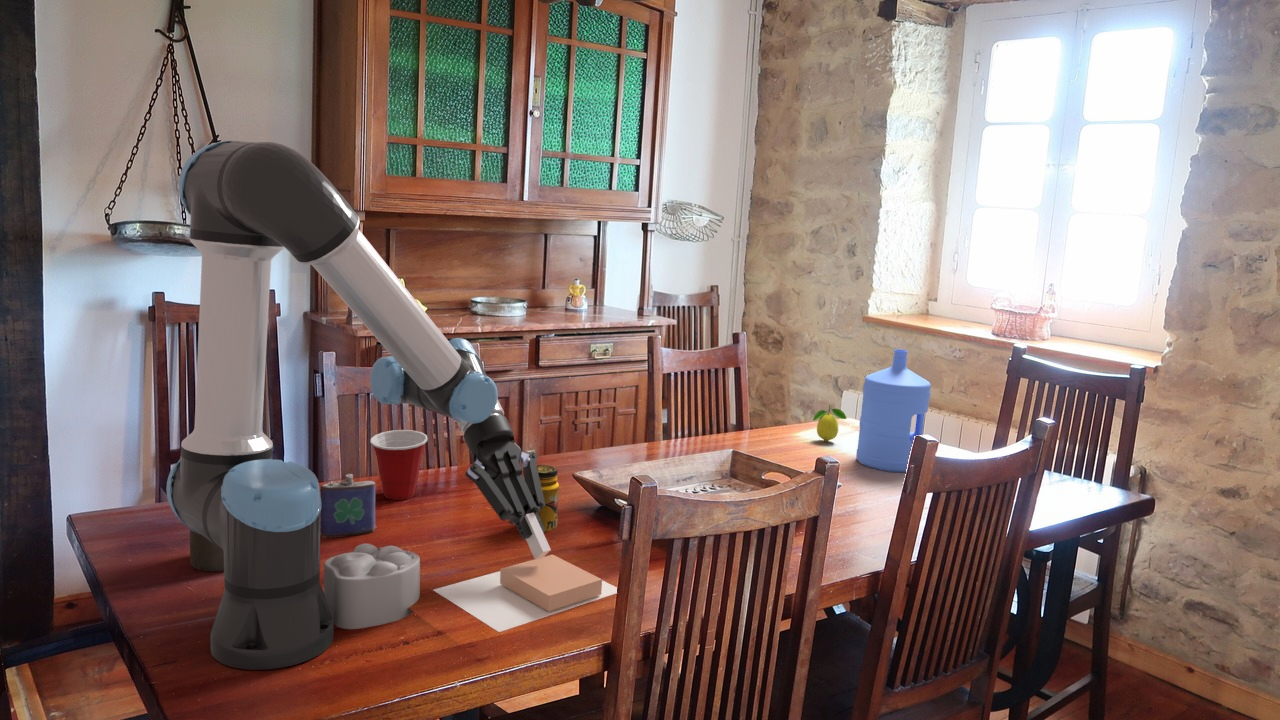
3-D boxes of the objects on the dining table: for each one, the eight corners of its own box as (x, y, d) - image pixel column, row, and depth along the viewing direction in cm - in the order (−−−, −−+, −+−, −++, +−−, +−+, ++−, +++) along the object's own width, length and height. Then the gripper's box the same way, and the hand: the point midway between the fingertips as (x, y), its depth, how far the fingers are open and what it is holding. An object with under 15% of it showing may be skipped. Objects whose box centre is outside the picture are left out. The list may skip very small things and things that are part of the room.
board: (498, 640, 129) (499, 632, 129) (432, 597, 141) (432, 589, 141) (622, 598, 145) (623, 590, 145) (553, 562, 157) (554, 556, 157)
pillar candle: (187, 574, 144) (186, 480, 141) (191, 550, 153) (190, 461, 150) (256, 569, 148) (257, 477, 145) (256, 546, 156) (256, 459, 154)
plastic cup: (358, 499, 182) (358, 439, 180) (389, 484, 192) (390, 427, 190) (407, 508, 179) (408, 447, 177) (437, 492, 189) (438, 434, 187)
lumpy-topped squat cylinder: (318, 604, 137) (318, 547, 135) (404, 587, 144) (405, 533, 143) (341, 633, 129) (342, 573, 127) (431, 613, 136) (433, 556, 135)
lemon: (844, 444, 247) (847, 406, 245) (827, 446, 243) (831, 408, 242) (826, 437, 252) (829, 401, 250) (809, 439, 249) (813, 402, 247)
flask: (373, 527, 168) (374, 469, 166) (376, 533, 165) (377, 474, 163) (319, 533, 164) (319, 473, 162) (321, 539, 161) (321, 479, 159)
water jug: (862, 470, 223) (874, 353, 218) (850, 453, 238) (861, 343, 233) (929, 475, 222) (943, 358, 217) (912, 457, 238) (925, 347, 233)
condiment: (565, 536, 170) (568, 471, 168) (523, 543, 165) (525, 477, 163) (546, 523, 176) (549, 460, 174) (505, 529, 171) (507, 465, 169)
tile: (499, 585, 144) (548, 613, 136) (500, 568, 144) (549, 595, 135) (551, 570, 151) (601, 596, 142) (552, 554, 150) (602, 579, 142)
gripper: (506, 431, 160) (564, 556, 152) (439, 442, 151) (497, 575, 143) (526, 408, 156) (587, 534, 147) (459, 417, 147) (519, 553, 138)
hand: (542, 554), depth 145 cm, fingers closed
